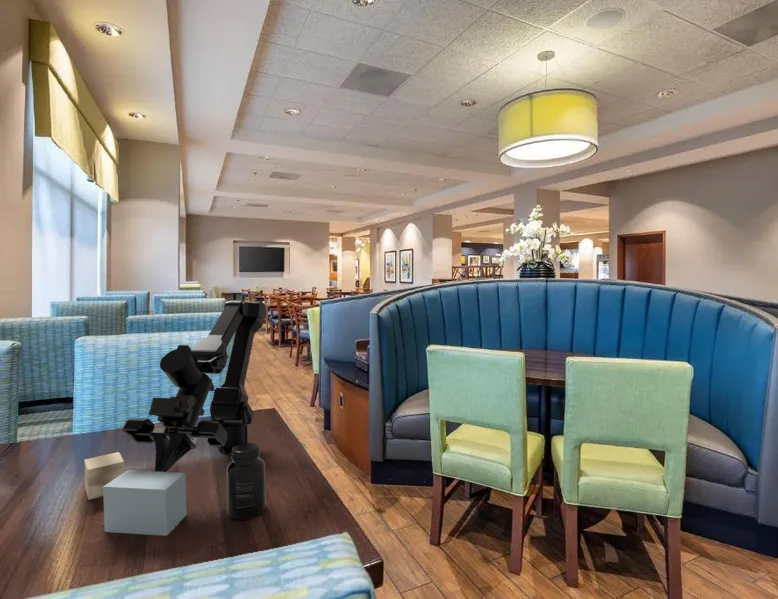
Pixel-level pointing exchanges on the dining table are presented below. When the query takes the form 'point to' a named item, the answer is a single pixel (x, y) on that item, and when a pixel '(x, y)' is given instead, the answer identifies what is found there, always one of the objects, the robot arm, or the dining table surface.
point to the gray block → (145, 502)
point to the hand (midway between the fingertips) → (157, 476)
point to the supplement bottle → (245, 482)
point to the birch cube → (101, 473)
